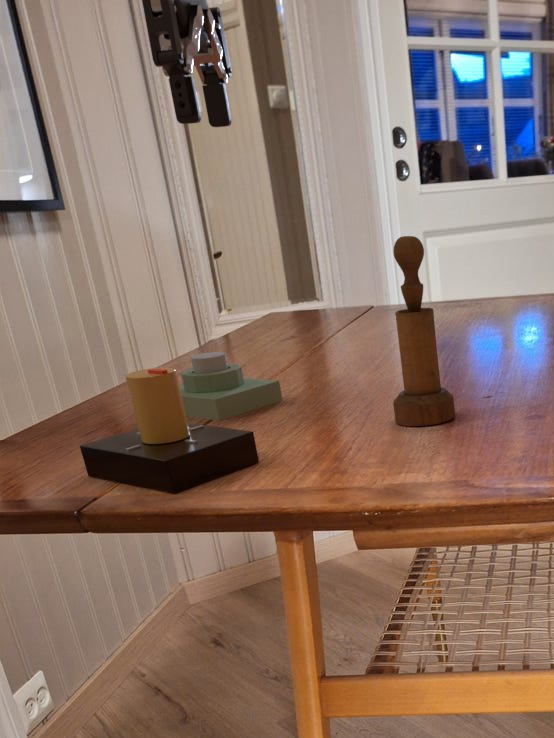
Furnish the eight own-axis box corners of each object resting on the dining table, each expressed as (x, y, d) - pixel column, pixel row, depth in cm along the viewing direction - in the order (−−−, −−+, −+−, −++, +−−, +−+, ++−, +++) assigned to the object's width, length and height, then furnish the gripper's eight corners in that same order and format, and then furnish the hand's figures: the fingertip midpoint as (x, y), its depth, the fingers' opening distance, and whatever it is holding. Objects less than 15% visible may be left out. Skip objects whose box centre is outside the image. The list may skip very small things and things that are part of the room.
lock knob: (132, 441, 81) (114, 372, 78) (170, 429, 84) (154, 363, 81) (161, 446, 79) (144, 375, 76) (200, 434, 82) (184, 365, 79)
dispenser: (154, 412, 106) (145, 375, 103) (218, 394, 113) (210, 358, 111) (219, 421, 99) (211, 381, 97) (282, 401, 106) (276, 363, 104)
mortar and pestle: (407, 411, 97) (388, 235, 89) (462, 411, 96) (448, 231, 87) (386, 427, 92) (364, 240, 83) (445, 427, 90) (428, 236, 81)
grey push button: (187, 375, 104) (183, 357, 103) (213, 368, 106) (210, 351, 106) (209, 377, 102) (205, 359, 101) (235, 370, 104) (232, 352, 103)
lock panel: (88, 476, 83) (78, 443, 81) (173, 448, 90) (166, 418, 88) (174, 494, 76) (165, 458, 74) (259, 462, 83) (253, 429, 82)
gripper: (161, -59, 86) (197, 131, 94) (91, -97, 73) (139, 125, 81) (233, -66, 85) (264, 125, 93) (176, -107, 73) (216, 118, 80)
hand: (206, 125), depth 87 cm, fingers open, 8 cm apart
